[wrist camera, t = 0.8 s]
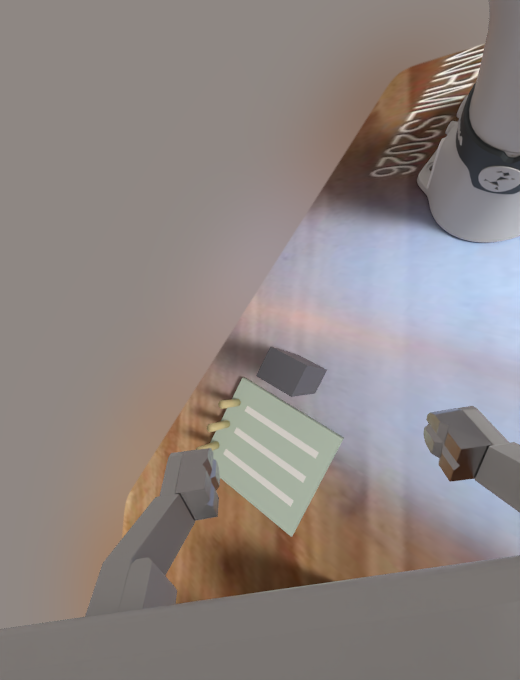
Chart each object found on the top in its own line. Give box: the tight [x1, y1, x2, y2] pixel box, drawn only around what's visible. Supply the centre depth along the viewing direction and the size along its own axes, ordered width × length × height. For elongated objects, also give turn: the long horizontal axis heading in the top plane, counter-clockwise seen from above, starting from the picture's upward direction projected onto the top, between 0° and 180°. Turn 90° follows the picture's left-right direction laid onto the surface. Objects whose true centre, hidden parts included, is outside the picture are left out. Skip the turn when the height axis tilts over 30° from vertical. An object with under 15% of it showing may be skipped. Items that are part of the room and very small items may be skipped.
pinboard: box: [196, 378, 344, 537], centre depth 43 cm, size 16×18×6 cm
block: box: [256, 347, 327, 397], centre depth 40 cm, size 4×5×12 cm
